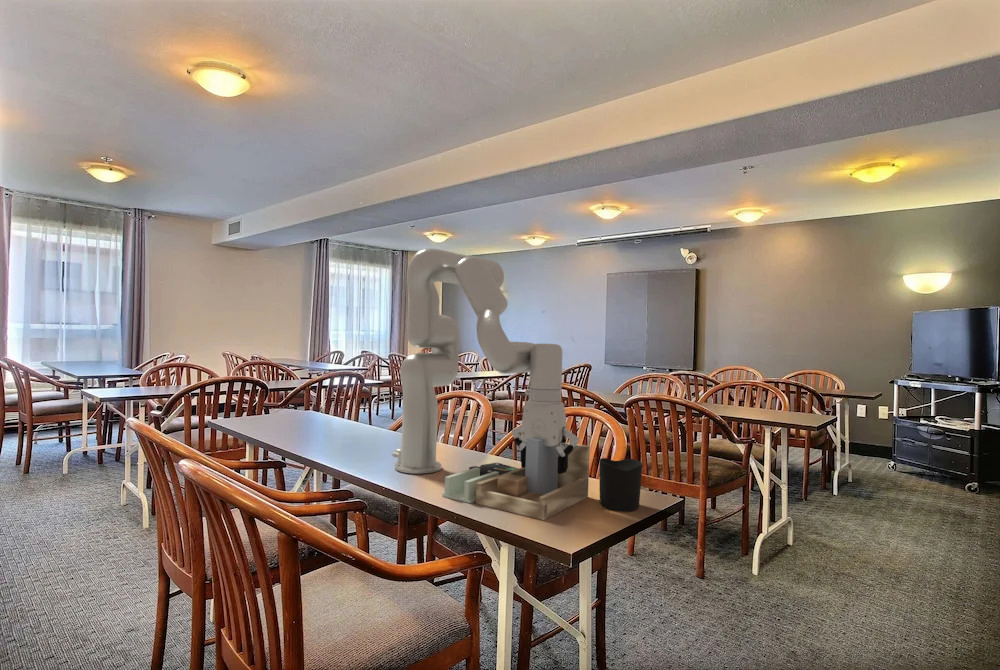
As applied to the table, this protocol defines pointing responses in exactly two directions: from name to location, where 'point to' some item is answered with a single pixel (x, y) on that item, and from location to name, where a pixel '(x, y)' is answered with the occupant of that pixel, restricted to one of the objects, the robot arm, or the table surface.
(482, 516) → the table surface
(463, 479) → the stand
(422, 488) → the table surface
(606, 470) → the pen holder
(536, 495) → the offcut
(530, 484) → the blue-grey flat block
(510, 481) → the offcut
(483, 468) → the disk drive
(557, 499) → the tray
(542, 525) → the table surface
